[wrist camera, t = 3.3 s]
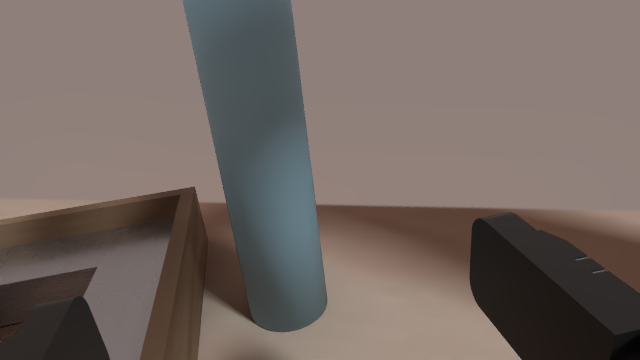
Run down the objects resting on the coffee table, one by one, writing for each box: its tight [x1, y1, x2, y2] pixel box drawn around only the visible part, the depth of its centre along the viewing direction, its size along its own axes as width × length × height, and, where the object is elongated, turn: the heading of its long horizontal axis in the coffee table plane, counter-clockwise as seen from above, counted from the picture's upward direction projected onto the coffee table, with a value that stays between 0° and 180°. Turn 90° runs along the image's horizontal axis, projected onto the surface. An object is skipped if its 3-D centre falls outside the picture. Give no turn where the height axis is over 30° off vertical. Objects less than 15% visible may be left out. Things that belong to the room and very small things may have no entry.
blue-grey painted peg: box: [183, 0, 327, 332], centre depth 19 cm, size 4×4×16 cm
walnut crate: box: [0, 187, 208, 360], centre depth 20 cm, size 16×16×4 cm
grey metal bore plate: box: [0, 218, 174, 360], centre depth 20 cm, size 14×14×2 cm
